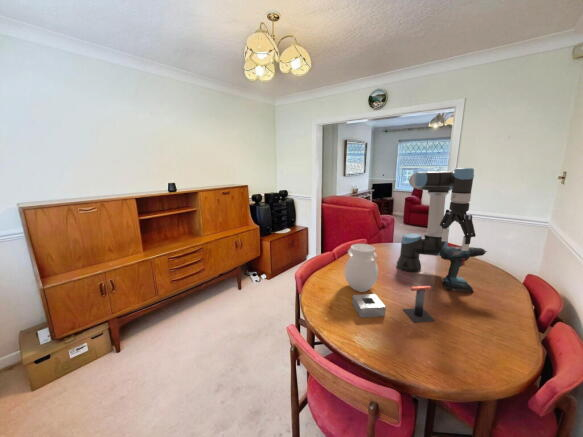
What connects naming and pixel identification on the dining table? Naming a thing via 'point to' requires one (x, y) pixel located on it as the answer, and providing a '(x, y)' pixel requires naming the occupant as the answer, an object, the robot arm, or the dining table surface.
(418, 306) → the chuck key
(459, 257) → the power drill
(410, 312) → the mat
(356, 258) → the white vase
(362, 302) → the block
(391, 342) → the dining table surface
